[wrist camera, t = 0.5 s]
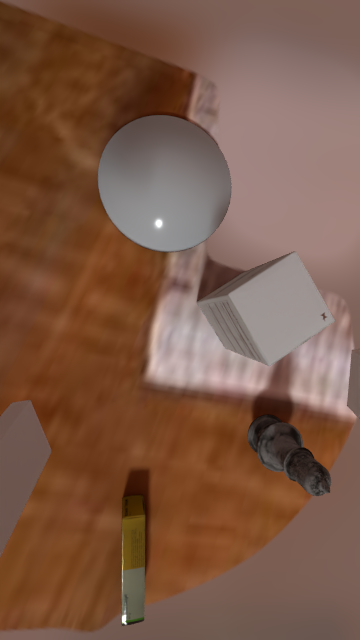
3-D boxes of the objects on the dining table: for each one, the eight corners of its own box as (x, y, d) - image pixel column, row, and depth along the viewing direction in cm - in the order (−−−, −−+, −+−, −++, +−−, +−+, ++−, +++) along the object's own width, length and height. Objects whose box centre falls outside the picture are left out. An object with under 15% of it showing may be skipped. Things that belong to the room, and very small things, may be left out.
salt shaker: (239, 449, 36) (290, 516, 24) (254, 406, 36) (312, 451, 24) (278, 461, 37) (346, 531, 25) (293, 419, 37) (367, 469, 25)
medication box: (143, 588, 34) (145, 623, 30) (121, 592, 34) (119, 628, 30) (143, 492, 34) (145, 515, 30) (121, 495, 34) (120, 518, 30)
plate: (81, 133, 32) (80, 128, 31) (209, 110, 34) (211, 104, 33) (121, 266, 33) (120, 265, 32) (242, 235, 35) (245, 232, 34)
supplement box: (241, 271, 35) (298, 247, 23) (269, 320, 36) (339, 322, 24) (193, 301, 35) (226, 292, 22) (223, 350, 35) (271, 369, 23)
